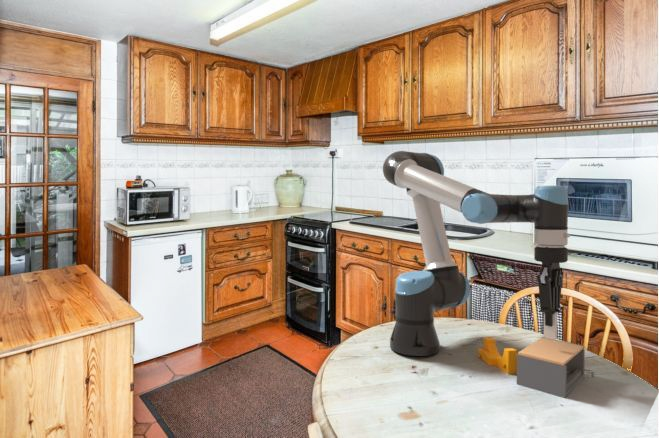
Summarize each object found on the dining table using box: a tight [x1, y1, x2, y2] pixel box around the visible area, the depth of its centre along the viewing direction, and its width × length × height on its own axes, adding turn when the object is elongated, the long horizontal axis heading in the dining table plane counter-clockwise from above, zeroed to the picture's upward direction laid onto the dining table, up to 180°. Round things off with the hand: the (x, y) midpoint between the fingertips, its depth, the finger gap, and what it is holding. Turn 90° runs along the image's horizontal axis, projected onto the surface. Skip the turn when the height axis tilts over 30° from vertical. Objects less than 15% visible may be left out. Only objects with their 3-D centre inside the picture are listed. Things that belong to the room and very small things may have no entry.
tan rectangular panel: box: [517, 336, 585, 366], centre depth 106 cm, size 10×18×1 cm, turn 135°
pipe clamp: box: [477, 336, 518, 375], centre depth 116 cm, size 12×4×6 cm, turn 11°
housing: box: [516, 348, 586, 398], centre depth 106 cm, size 11×17×8 cm, turn 135°
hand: (550, 337), depth 105 cm, fingers closed
